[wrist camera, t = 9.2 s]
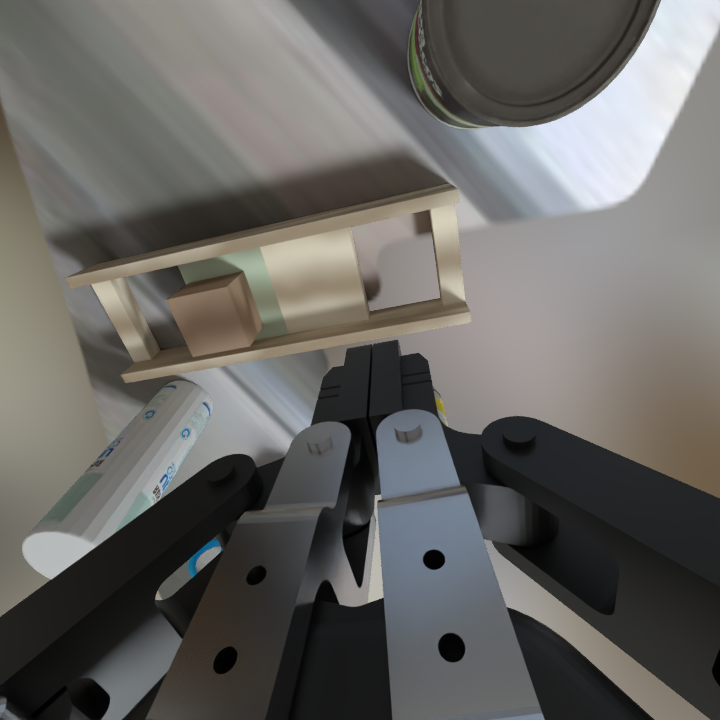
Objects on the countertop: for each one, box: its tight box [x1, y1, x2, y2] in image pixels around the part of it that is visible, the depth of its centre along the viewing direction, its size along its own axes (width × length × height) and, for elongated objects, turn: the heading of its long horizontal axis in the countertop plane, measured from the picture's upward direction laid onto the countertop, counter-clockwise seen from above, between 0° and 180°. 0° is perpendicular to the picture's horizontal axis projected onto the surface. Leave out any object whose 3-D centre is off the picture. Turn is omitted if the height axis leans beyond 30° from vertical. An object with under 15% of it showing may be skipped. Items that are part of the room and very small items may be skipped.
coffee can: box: [407, 0, 661, 129], centre depth 23 cm, size 10×10×14 cm
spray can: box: [22, 381, 213, 579], centre depth 38 cm, size 6×6×20 cm
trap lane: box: [65, 183, 471, 383], centre depth 37 cm, size 11×34×4 cm, turn 103°
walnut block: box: [166, 271, 264, 357], centre depth 36 cm, size 6×6×4 cm
